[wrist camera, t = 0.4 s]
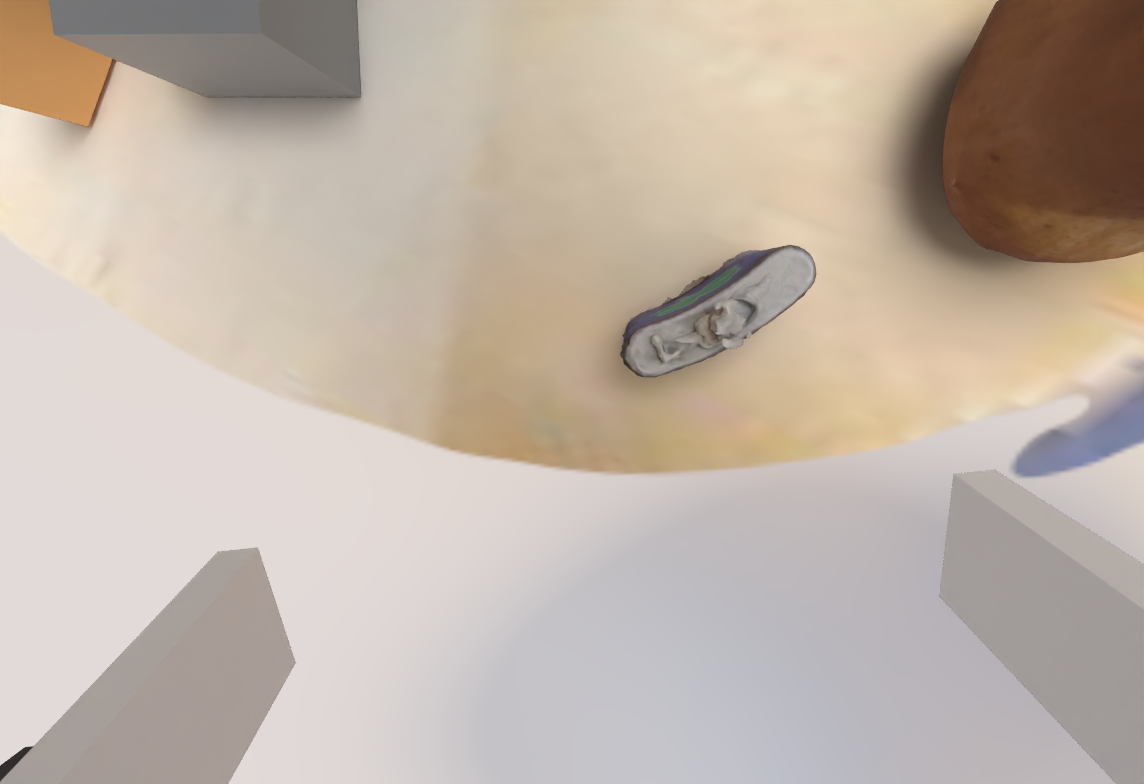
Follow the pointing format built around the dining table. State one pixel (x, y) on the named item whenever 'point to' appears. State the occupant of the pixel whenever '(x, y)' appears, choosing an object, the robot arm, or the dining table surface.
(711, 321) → the flask
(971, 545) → the robot arm
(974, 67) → the butternut squash
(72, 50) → the side door
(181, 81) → the block
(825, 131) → the dining table surface
